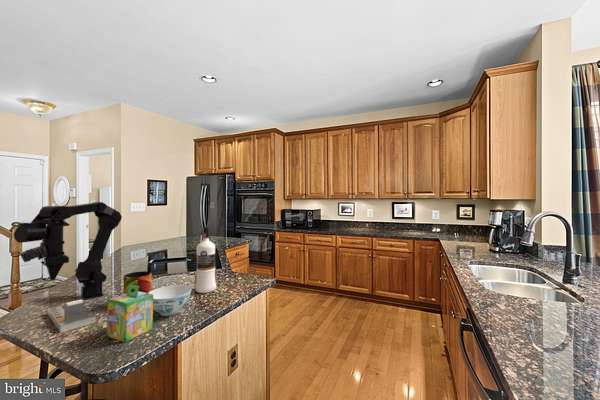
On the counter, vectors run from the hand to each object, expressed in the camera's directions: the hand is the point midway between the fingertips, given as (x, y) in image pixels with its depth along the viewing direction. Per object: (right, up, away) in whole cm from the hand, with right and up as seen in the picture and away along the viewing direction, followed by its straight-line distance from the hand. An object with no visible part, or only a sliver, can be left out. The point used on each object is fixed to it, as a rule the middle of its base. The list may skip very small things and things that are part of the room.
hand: (52, 279), depth 97 cm
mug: (+27, -12, +9) cm, 31 cm away
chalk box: (+41, -12, -16) cm, 45 cm away
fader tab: (+16, -10, -9) cm, 21 cm away
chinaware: (+45, -12, -1) cm, 47 cm away
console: (+12, -12, -6) cm, 18 cm away
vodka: (+50, -12, +23) cm, 56 cm away
